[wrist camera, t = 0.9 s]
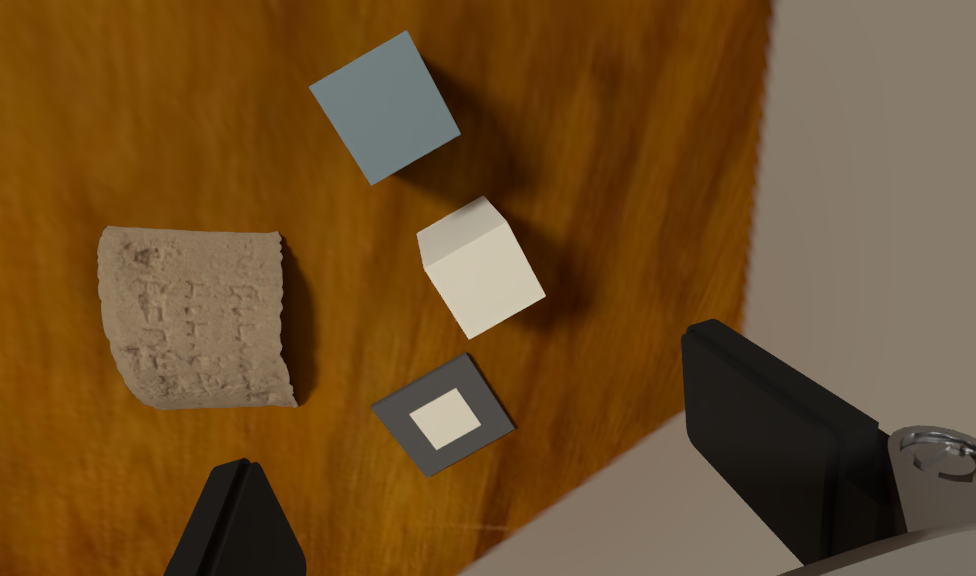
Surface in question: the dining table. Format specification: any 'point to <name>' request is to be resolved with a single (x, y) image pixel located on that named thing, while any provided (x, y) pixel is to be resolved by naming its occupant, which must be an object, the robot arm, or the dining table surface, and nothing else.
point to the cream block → (478, 267)
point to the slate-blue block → (386, 108)
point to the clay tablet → (195, 316)
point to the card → (444, 415)
